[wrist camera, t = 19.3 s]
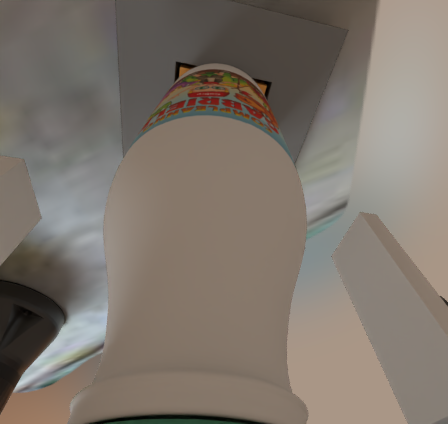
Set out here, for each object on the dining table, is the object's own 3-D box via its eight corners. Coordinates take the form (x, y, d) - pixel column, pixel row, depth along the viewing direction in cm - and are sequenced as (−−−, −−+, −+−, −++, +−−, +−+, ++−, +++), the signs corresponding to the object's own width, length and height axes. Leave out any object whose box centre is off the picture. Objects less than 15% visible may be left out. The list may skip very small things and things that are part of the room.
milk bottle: (275, 154, 21) (426, 589, 5) (186, 175, 22) (89, 578, 6) (257, 45, 16) (1065, 921, 1) (146, 80, 18) (-507, 659, 2)
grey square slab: (272, 190, 27) (276, 208, 24) (134, 167, 25) (124, 183, 23) (332, 27, 18) (348, 29, 16) (129, -24, 17) (113, -29, 14)
